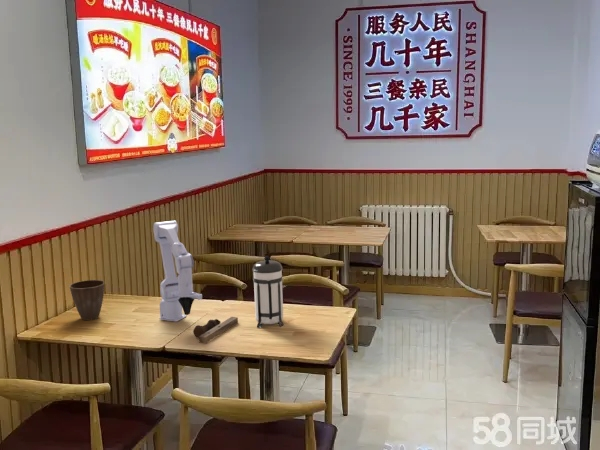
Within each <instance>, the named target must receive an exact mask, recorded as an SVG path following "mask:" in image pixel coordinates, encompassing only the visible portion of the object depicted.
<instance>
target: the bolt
mask: <svg viewBox="0 0 600 450" xmlns="http://www.w3.org/2000/svg"><path fill="white" fill-rule="evenodd" d="M220 323H221V321H220V320H219V319H217V318H215V319H208V321H207V323H206V324H204V325H199V324H198V325H195V327H193V331H192V332H193V336H194V337H195V338H196V339H199V336H201V335H202V334H204V333H205V332H207V331H209V330H210V329H212V328H214V327H215V326H217V325H219V324H220Z"/></svg>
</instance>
